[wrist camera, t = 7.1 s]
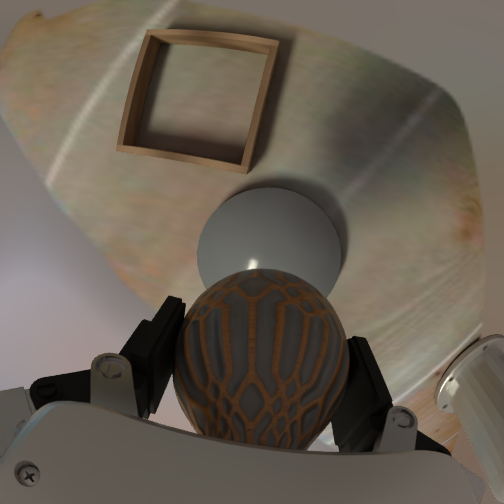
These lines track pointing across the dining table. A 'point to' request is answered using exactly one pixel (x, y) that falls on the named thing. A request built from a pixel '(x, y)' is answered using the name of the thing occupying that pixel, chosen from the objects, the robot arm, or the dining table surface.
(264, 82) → the holder
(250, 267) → the plate
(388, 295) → the dining table surface
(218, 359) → the vase
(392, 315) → the dining table surface
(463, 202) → the dining table surface
